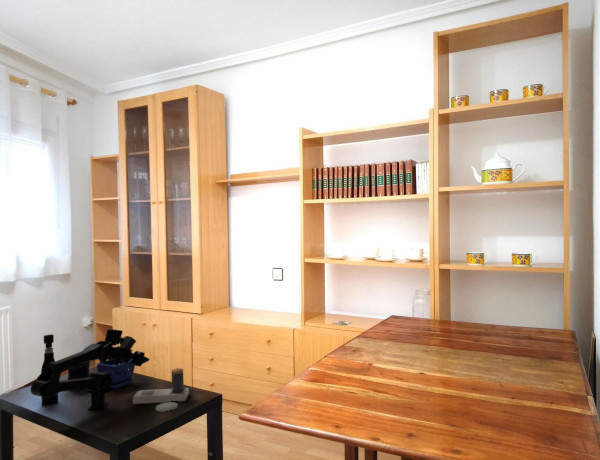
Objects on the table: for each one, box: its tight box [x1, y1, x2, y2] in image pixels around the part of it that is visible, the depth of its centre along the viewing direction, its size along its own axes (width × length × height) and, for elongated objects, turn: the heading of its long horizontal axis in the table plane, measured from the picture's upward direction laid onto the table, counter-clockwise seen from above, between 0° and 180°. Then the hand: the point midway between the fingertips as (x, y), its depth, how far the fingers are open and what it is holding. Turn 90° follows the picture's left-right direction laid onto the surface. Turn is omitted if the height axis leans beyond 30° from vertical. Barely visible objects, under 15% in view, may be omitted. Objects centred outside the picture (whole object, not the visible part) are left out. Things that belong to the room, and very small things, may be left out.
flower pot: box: [96, 359, 136, 390], centre depth 214 cm, size 13×13×12 cm
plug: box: [171, 368, 185, 394], centre depth 194 cm, size 6×6×12 cm
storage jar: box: [67, 360, 91, 392], centre depth 213 cm, size 10×10×15 cm
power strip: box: [132, 387, 190, 405], centre depth 193 cm, size 8×22×3 cm, turn 94°
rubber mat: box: [155, 402, 179, 413], centre depth 183 cm, size 9×9×1 cm
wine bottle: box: [40, 334, 59, 407], centre depth 192 cm, size 6×6×30 cm
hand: (142, 358), depth 206 cm, fingers open, 9 cm apart
